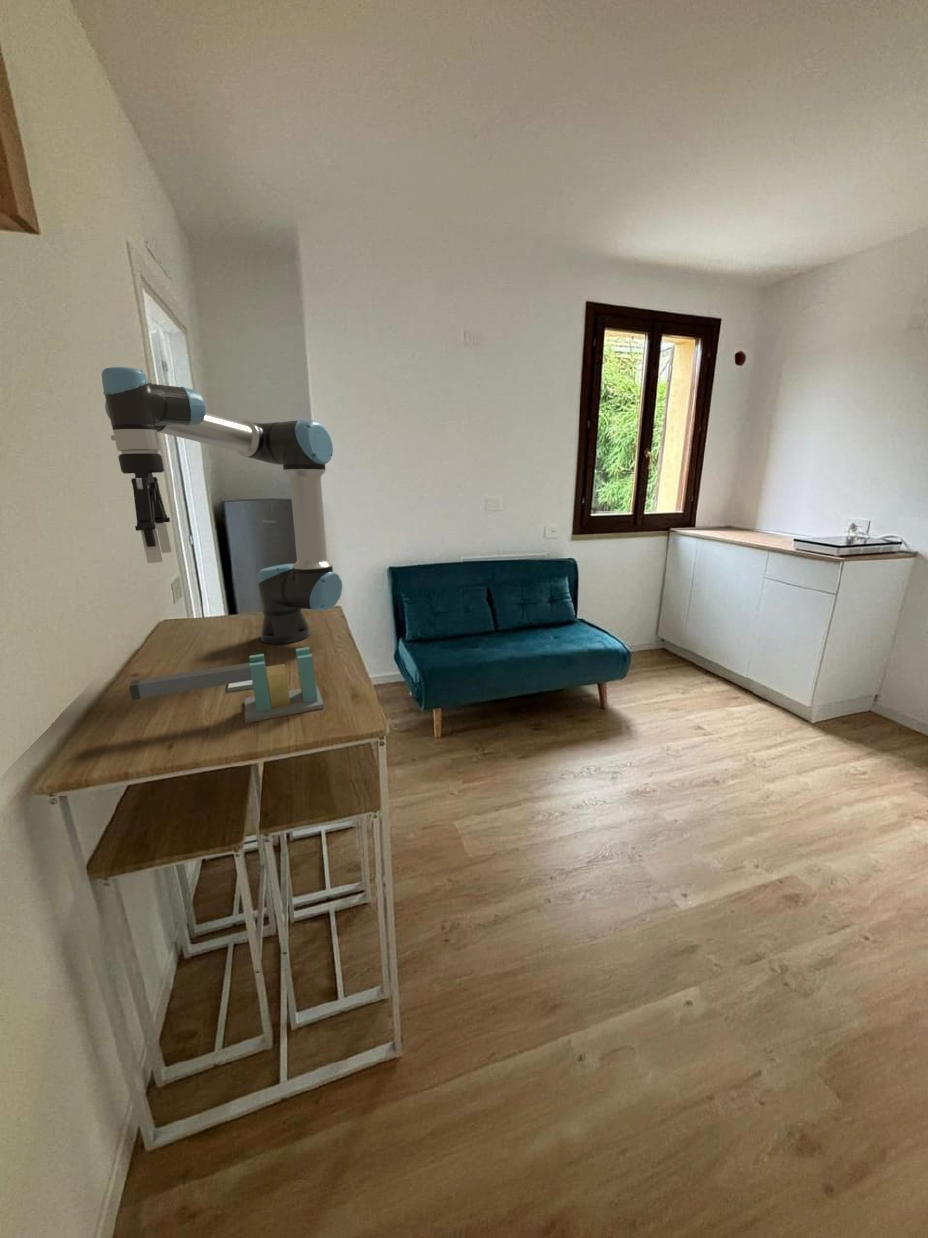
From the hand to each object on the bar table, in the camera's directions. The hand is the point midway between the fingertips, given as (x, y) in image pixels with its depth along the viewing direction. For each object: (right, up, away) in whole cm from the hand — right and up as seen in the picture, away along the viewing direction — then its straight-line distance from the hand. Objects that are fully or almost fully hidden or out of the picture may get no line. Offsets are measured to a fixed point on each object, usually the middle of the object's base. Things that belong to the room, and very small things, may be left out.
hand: (160, 557), depth 109 cm
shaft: (+9, -28, +1) cm, 29 cm away
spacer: (+23, -32, +8) cm, 40 cm away
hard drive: (+9, -30, +23) cm, 39 cm away
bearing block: (+23, -33, +8) cm, 41 cm away
